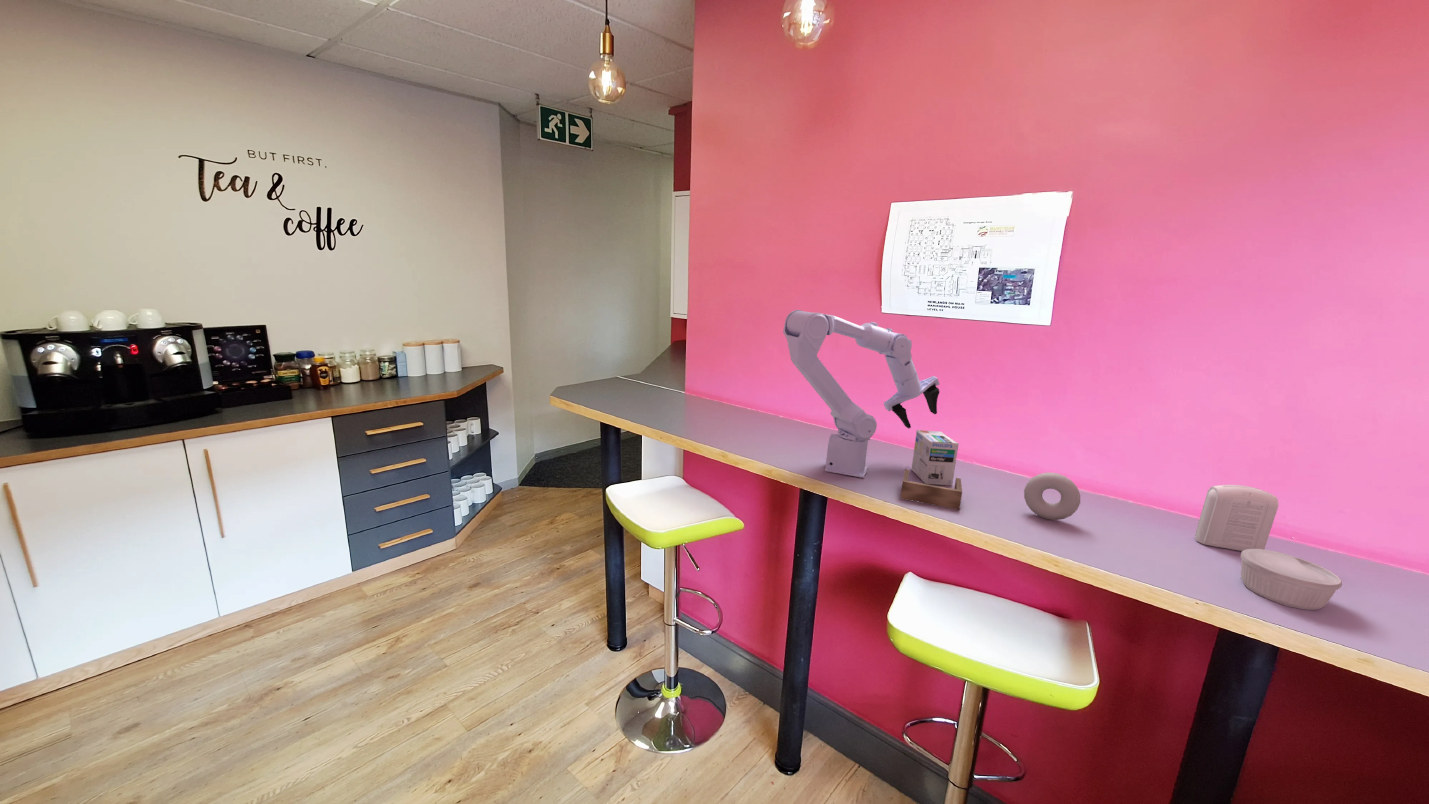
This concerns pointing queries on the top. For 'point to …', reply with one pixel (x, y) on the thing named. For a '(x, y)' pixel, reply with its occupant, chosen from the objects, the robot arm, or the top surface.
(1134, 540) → the top surface
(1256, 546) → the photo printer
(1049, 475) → the donut
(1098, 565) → the top surface
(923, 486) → the walnut sleeve
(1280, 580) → the ramekin
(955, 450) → the light bulb box
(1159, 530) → the top surface
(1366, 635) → the top surface
